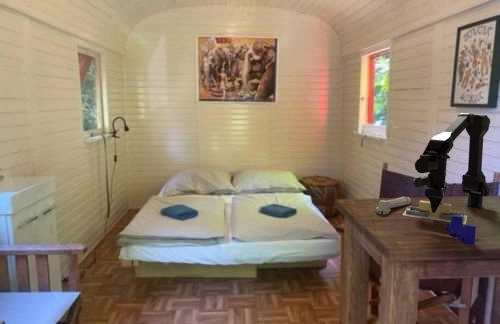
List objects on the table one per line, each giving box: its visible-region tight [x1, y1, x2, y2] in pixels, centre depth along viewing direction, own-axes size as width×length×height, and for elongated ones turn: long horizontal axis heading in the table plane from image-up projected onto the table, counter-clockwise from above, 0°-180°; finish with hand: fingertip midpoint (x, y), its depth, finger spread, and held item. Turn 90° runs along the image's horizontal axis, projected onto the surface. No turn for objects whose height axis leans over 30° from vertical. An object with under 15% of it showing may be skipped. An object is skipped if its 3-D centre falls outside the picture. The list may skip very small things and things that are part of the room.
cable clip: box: [445, 215, 477, 245], centre depth 127 cm, size 12×4×6 cm, turn 172°
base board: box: [402, 207, 468, 225], centre depth 148 cm, size 12×22×1 cm, turn 58°
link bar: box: [418, 199, 452, 217], centre depth 148 cm, size 3×11×5 cm, turn 58°
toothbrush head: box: [375, 196, 412, 215], centre depth 159 cm, size 5×7×25 cm
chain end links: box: [405, 205, 465, 222], centre depth 148 cm, size 7×20×2 cm, turn 58°
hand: (434, 209), depth 148 cm, fingers open, 9 cm apart
